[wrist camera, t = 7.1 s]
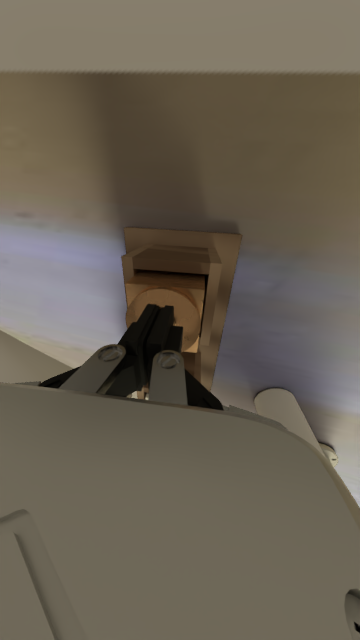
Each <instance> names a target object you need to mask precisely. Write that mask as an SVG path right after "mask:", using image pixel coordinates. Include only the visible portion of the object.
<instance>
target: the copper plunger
mask: <svg viewBox="0 0 360 640" xmlns="http://www.w3.org/2000/svg"><path fill="white" fill-rule="evenodd" d="M125 286H126V295H127V303H128V309H127V313H126V325H127V328H129V326H130V325H131V323H132V322H137V320H138V319H139V317H140V315H141V314H142V312H143V310H144V309H145V307H146V306H147V304H156V305H157V307H160V310H161V308H162V307H165V305H168V306H174V323H173V326H182V327H183V339H182V349H181V352H183V351H184V352H194V353H197V349H198V341H199V334H200V328H201V317H202V309H203V301H204V293H205V280H204V274H197V273H184V272H171V271H158V270H145V269H141V270H140V271H139V272H138V273H137V274H136V275H134V276H133V277H132V278H131V279H130V280H129V281H127V282H126V283H125Z"/></svg>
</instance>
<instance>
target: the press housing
mask: <svg viewBox="0 0 360 640" xmlns="http://www.w3.org/2000/svg"><path fill="white" fill-rule="evenodd" d="M124 235H125V245H126V254H125V255H123V256H121V258H122V267H123V276H124V284H125V283H126V282H127V281H129V280H130V279H131V278H132V277H133V276H134V275H136V274H137V273H138V272H139V271H140V270H141V269H145V270H158V271H171V272H184V273H197V274H204V280H205V293H204V301H203V309H202V317H201V328H200V334H199V341H198V349H197V353H194V352H184V351H183V352H181V355H182V357H183V360H184V368H185V369H186V370H187V371H188V372H189V373H190V374H191V375H192V376H193V377H194V378H196V379H197V380H198V381H199V382H200V383H201V384H202V385H203V386H204V387H205V388H206V389H207V390H208V391H209V392H210V390H211V385H212V381H213V376H214V371H215V366H216V361H217V356H218V351H219V346H220V342H221V337H222V332H223V327H224V322H225V317H226V312H227V307H228V302H229V298H230V293H231V288H232V283H233V278H234V273H235V268H236V263H237V259H238V254H239V249H240V244H241V239H242V235H241V234H233V233H217V232H200V231H184V230H167V229H151V228H134V227H125V228H124ZM125 293H126V286H125ZM126 302H127V295H126ZM127 309H128V303H127ZM147 393H149V389H148V383H147V385H146V386H144V385H143V388H142V391H137V397H138V399H143V400H146V398H145V397H146V394H147Z"/></svg>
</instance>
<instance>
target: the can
mask: <svg viewBox="0 0 360 640" xmlns="http://www.w3.org/2000/svg"><path fill="white" fill-rule="evenodd" d="M254 404H255V408H256V412H257V414H258V415H261V416H263V417H266V418H269V419H272V420H275V421H277V422H279V423H281V424H282V425H283V426H284V427H286V428H287V430H288V431H290V432H292V433H294V434H296V435H298V436H299V437H301V438H302V439H304V440H305V441H307V442H308V443H310V444H311V445H312V446H314V447H315V448H316V449H317V450H318V451H320V453H321V454H322V455H323V456H324V457H325V455H324V453H323V451H322V449H321V447H320V445H319V443H318V441H317V440H316V438H315V436H314V434H313V432H312V430H311V428H310V426H309V424H308V422H307V420H306V418H305V416H304V414H303V412H302V410H301V409H300V407H299V405H298V403H297V401H296V399H295V397H294V395H293V394H292V393H291V392H289V391H287V390H285V389H281V388H269V389H266V390H263V391H261V392H260V393H259V394H258V395H257V396H256V398H255V400H254ZM325 458H326V457H325Z"/></svg>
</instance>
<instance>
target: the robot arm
mask: <svg viewBox="0 0 360 640" xmlns="http://www.w3.org/2000/svg"><path fill="white" fill-rule="evenodd" d="M173 323H174V306H168V305H165V307H162V308H161V310H160V307H157V305H156V304H147V306H146V307H145V309H144V310H143V312H142V314H141V315H140V317H139V319H138V320H137V322H132V323H131V325H130V326H129V328H128V329H127V331H126V332H125V334H124V335H123V337H122V338H121V340H120V341H119V343H118V344H111V345H106V346H104V347H102V348H100V349H99V350H97V351H96V352H95V353H94V354H93V355H92V356H91V357H90V358H89V359H88V360H87V361H86V362H85V363H84V364H83V365H82V366H80V367H77V368H75V369H72V370H70V371H67V372H65V373H63V374H60V375H57V376H55V377H52V378H50V379H48V380H46V381H44V382H42V383H41V382H40V381H39V382H25V383H3V382H0V640H360V508H359V506H358V504H357V503H356V501H355V499H354V498H353V496H352V495H351V493H350V492H349V490H348V488H347V487H346V485H345V484H344V482H343V480H342V479H341V477H340V476H339V475H338V473H337V472H336V470H335V469H334V467H335V466H336V465H337V463H338V457H337V455H336V453H335V452H334V450H333V449H332V448H330V447H329V446H326V445H324V444H321V443H319V445H320V447H321V449H322V451H323V453H324V455H325V457H326V458H325V457H324V456H323V455H322V454H321V453H320V451H318V450H317V449H316V448H315V447H314V446H312V445H311V444H310V443H308V442H307V441H305V440H304V439H302V438H301V437H299V436H298V435H296V434H294V433H292V432H290V431H288V430H287V428H286V427H284V426H283V425H282V424H281V423H279V422H277V421H275V420H272V419H269V418H266V417H263V416H261V415H258V414H255V413H252V412H249V411H246V410H243V409H240V408H237V407H234V406H231V405H229V407H226V406H223V405H222V404H221V403H220V401H219V400H218V399H217V398H216V397H215V396H214V395H213V394H212V393H211V392H209V391H208V390H207V389H206V388H205V387H204V386H203V385H202V384H201V383H200V382H199V381H198V380H197V379H196V378H194V377H193V376H192V375H191V374H190V373H189V372H188V371H187V370H186V369H185V368H184V360H183V357H182V355H181V349H182V339H183V327H182V326H173ZM147 383H148V389H149V397H148V400H143V399H135V398H131V397H132V393H133V392H135V391H142V388H143V385H144V386H146V385H147Z"/></svg>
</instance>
